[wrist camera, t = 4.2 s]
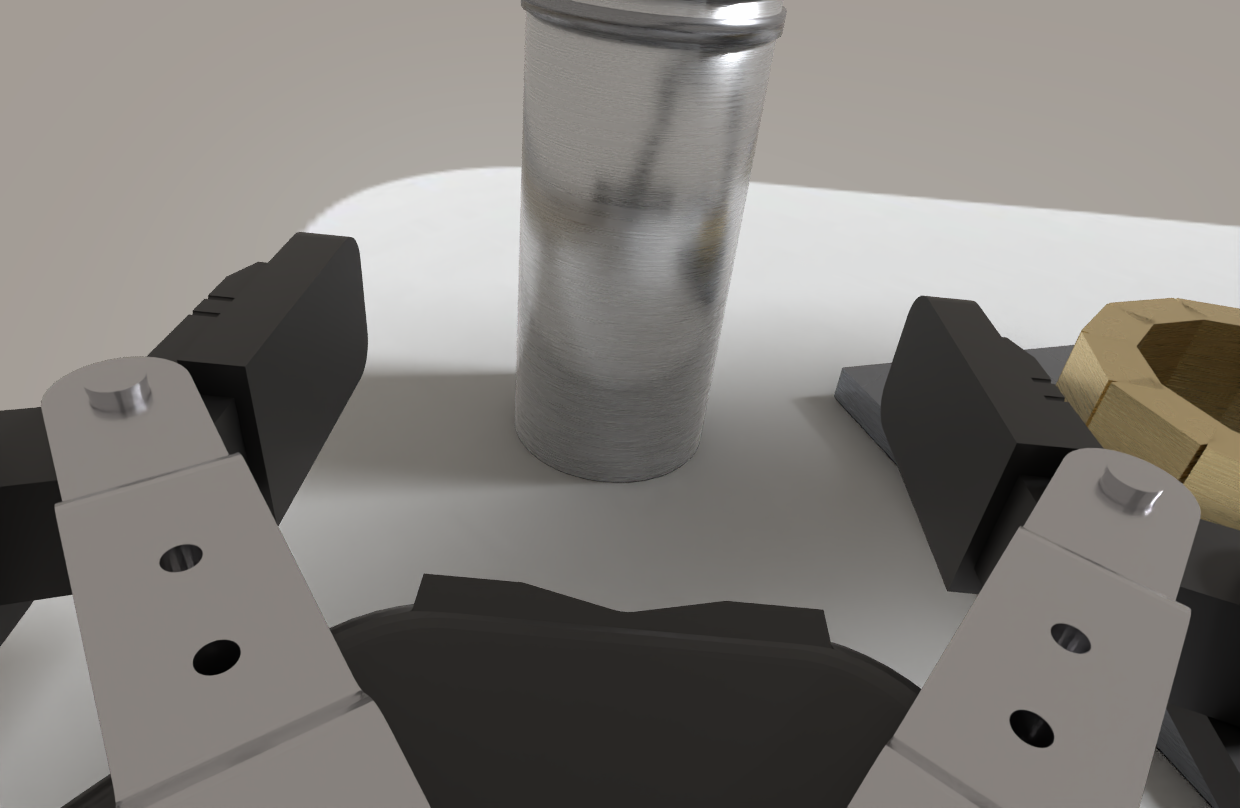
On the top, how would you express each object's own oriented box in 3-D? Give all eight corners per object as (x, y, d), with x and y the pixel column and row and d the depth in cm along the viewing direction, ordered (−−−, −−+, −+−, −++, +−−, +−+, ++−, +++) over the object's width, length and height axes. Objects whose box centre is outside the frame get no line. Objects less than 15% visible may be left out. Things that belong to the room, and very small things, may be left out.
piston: (664, 363, 24) (733, -100, 18) (736, 470, 20) (859, -76, 14) (494, 378, 23) (498, -124, 16) (535, 497, 19) (564, -105, 12)
